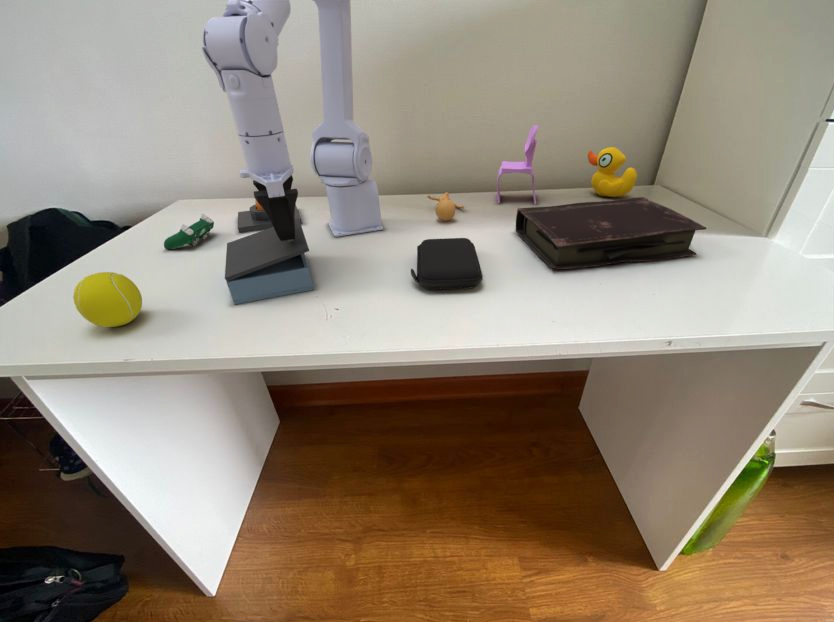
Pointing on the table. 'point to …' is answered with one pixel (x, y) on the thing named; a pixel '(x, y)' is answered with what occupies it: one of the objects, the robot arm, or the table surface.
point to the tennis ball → (107, 299)
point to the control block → (256, 220)
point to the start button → (258, 206)
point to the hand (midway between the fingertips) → (286, 232)
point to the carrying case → (447, 264)
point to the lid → (262, 251)
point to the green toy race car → (190, 233)
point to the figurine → (445, 207)
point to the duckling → (611, 173)
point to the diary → (606, 232)
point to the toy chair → (521, 166)
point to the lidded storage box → (272, 281)
